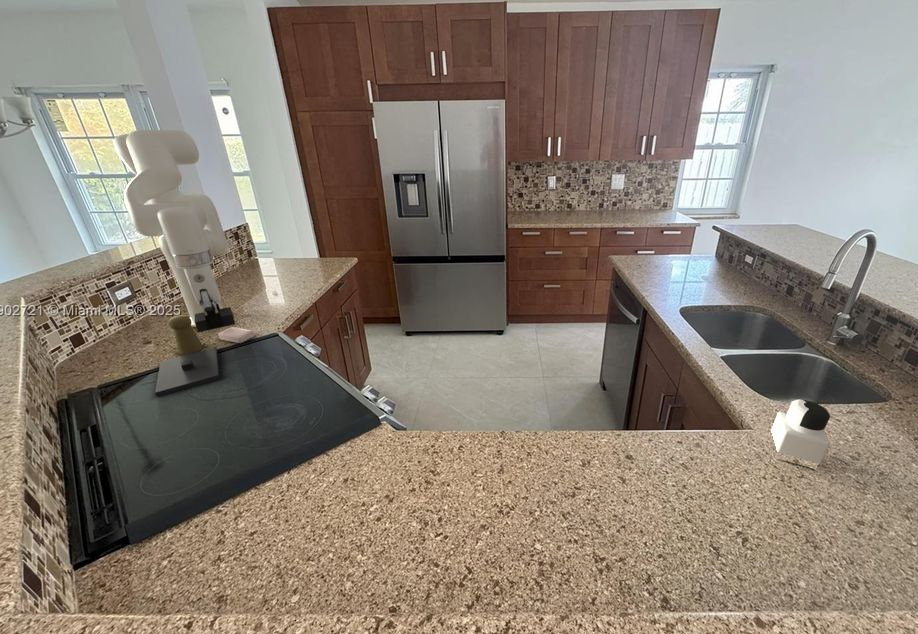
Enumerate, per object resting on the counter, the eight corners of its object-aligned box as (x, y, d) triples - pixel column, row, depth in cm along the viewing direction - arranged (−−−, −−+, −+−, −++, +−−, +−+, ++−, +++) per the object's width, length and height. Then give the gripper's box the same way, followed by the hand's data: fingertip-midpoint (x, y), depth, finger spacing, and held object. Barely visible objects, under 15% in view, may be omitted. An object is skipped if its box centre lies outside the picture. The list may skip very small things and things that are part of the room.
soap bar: (240, 344, 116) (238, 337, 115) (219, 340, 119) (216, 333, 118) (255, 336, 121) (253, 329, 120) (234, 332, 123) (232, 326, 122)
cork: (208, 344, 116) (196, 313, 111) (191, 354, 110) (178, 322, 106) (190, 343, 116) (177, 312, 112) (173, 353, 111) (159, 320, 106)
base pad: (162, 364, 105) (158, 356, 104) (217, 351, 112) (214, 342, 111) (156, 396, 92) (152, 387, 91) (219, 378, 99) (216, 369, 98)
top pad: (198, 324, 100) (194, 314, 99) (233, 316, 104) (230, 306, 103) (198, 332, 96) (194, 322, 94) (235, 324, 100) (232, 314, 99)
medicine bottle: (807, 446, 78) (828, 401, 73) (817, 471, 72) (841, 423, 67) (767, 436, 81) (785, 391, 76) (773, 459, 75) (793, 412, 70)
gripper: (213, 264, 88) (235, 331, 96) (210, 248, 100) (230, 308, 108) (173, 270, 84) (199, 339, 91) (175, 252, 96) (198, 315, 104)
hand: (215, 322), depth 100 cm, fingers closed on top pad, 6 cm apart
